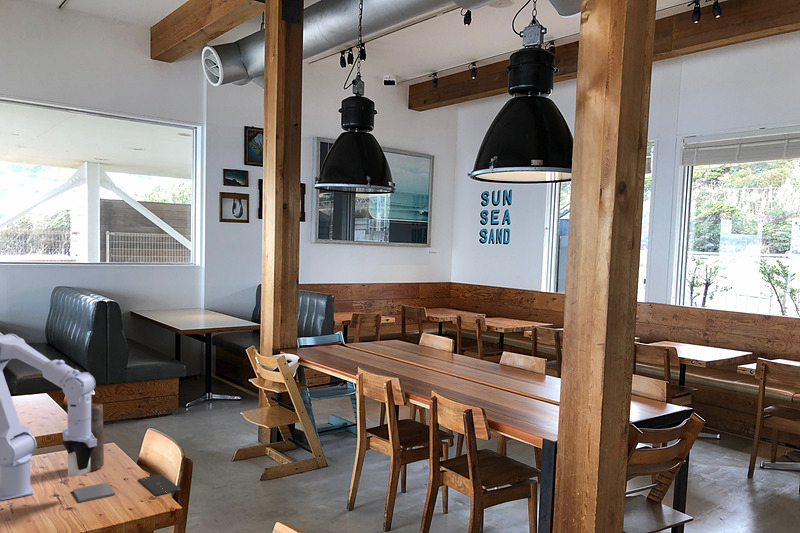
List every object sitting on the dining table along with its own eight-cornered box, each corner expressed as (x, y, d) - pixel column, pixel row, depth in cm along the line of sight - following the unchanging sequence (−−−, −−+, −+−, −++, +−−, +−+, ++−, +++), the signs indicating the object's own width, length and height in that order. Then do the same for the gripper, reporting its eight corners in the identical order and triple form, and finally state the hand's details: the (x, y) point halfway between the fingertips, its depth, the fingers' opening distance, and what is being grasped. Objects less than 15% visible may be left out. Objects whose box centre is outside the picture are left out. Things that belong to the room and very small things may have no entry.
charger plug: (65, 474, 170) (65, 450, 170) (86, 468, 175) (86, 444, 175) (71, 477, 168) (71, 452, 168) (92, 471, 173) (92, 446, 173)
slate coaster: (72, 491, 176) (72, 489, 176) (107, 484, 182) (107, 482, 182) (79, 502, 169) (79, 500, 169) (115, 495, 174) (115, 492, 174)
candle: (72, 468, 193) (72, 404, 192) (95, 461, 199) (95, 399, 198) (85, 474, 189) (85, 408, 188) (108, 467, 195) (109, 403, 194)
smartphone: (155, 495, 174) (136, 478, 185) (155, 498, 174) (136, 481, 185) (181, 488, 179) (161, 472, 190) (181, 491, 179) (161, 475, 190)
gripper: (51, 416, 172) (51, 465, 173) (78, 426, 164) (78, 478, 164) (77, 411, 178) (77, 458, 178) (104, 420, 169) (104, 470, 170)
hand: (79, 467), depth 172 cm, fingers closed on charger plug, 3 cm apart
